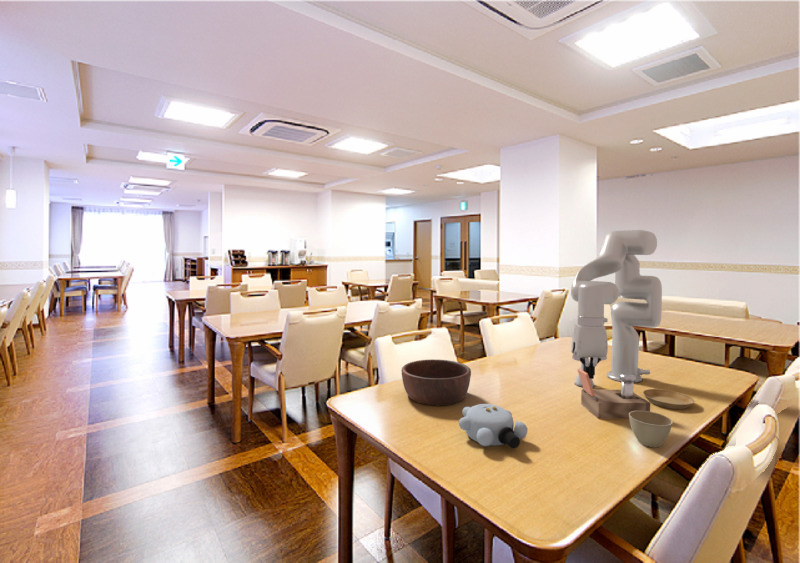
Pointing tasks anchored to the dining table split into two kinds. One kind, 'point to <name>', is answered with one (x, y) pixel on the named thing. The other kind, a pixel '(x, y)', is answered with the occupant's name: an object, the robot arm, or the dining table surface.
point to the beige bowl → (650, 427)
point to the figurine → (492, 426)
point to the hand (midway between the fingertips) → (588, 377)
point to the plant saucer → (668, 398)
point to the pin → (627, 385)
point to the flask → (578, 380)
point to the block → (612, 404)
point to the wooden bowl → (436, 381)
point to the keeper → (586, 382)
